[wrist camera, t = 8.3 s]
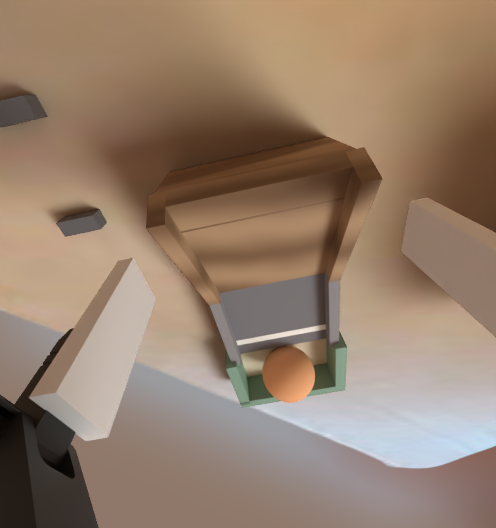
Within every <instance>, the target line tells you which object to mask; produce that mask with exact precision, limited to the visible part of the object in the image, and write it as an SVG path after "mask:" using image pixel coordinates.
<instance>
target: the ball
mask: <svg viewBox="0 0 496 528" xmlns="http://www.w3.org/2000/svg"><path fill="white" fill-rule="evenodd" d="M262 375H263V381H264V384H265V386H266V388H267V390H268V391H269V392H270V393H271V395H272V396H274V397H275V398H276V399H278V400H280V401H283V402H288V403H293V402H298V401H300V400H302V399H304V398H305V397H306V396H307V395H308V394H309V393H310V391H311V390H312V388H313V385H314V381H315V371H314V367H313V364H312V362H311V360H310V358H309V357H308V356H307V355H306V354H305V353H304V352H303V351H302V350H300V349H298V348H296V347H292V346H282V347H278V348H276V349H274V350H273V351H272V352H271V353H270V354H269V355H268V356H267V357H266V359H265V361H264V364H263V369H262Z"/></svg>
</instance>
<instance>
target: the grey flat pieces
mask: <svg viewBox="0 0 496 528" xmlns="http://www.w3.org/2000/svg"><path fill="white" fill-rule="evenodd" d="M44 117H48V116H47V115H46V113H45V111H44V109H43V107H42V106H41V104H40V102H39V100H38V98H37V97H36V95H22V96H17V97H13V98H9V99H5V100H1V101H0V127H6V126H10V125H15V124H19V123H23V122H27V121H31V120H35V119H39V118H44ZM106 223H107V222H106V220H105V218H104V217H103V215H102V213H101V211H100V209H99V210H94V211H89V212H85V213H80V214H76V215H71V216H67V217H64V218H62V219H61V220H60V221H58V222H57V223H56V224H57V225H58V227H59V228H60V230H61V231H62V233H63V234H64V236H65V237H66V236H71V235H76V234H80V233H85V232H90V231H94V230H99V229H101V228H102V227H103V226H104V225H105V224H106Z"/></svg>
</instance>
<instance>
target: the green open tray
mask: <svg viewBox="0 0 496 528" xmlns="http://www.w3.org/2000/svg"><path fill="white" fill-rule="evenodd" d="M287 346H292V347H296V348H298V349H300V350H302V351H303V352H304V353H305V354H306V355H307V356H308V357H309V358H310V360H311V362H312V364H313V367H314V371H315V381H314V385H313V388H312V390H311V391H310V393H309V394H308V395H307V396H313V395H319V394H325V393H331V392H337V391H343V390H345V382H346V360H347V346H346V344H345V342H344V340H343V338H342V335H341V333H340V331H339V343H335V344H333V346H334V347H332V348H330V347H329V344H328V342H327V339H320V340H315V341H309V342H304V343H298V344H293V345H287ZM276 348H278V347H276ZM276 348H271V349H265V350H260V351H254V352H249V353H243V354H241V364H237V361H235V362H231V360H230V358H229V355H228V353H227V350H226V370H227V373H228V375H229V378H230V380H231V382H232V385H233V387H234V390H235V392H236V394H237V397H238V399H239V402H240V404H241V406H242V407H249V406H255V405H260V404H266V403H272V402H278V401H280V400H278V399H276V398H275V397H274V396H272V395H271V393H270V392H269V391H268V390H267V388H266V386H265V384H264V381H263V375H262V369H263V364H264V361H265V359H266V357H267V356H268V355H269V354H270V353H271V352H272V351H273V350H274V349H276ZM307 396H306V397H307Z"/></svg>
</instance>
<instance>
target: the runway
mask: <svg viewBox="0 0 496 528" xmlns="http://www.w3.org/2000/svg"><path fill="white" fill-rule="evenodd" d="M220 298H221V304H220V303H218V304H213V305H209V306H210V309H211V311H212V314H213V316H214V319H215V321H216V324H217V327H218V329H219V332H220V334H221V337H222V340H223V342H224V345H225V347H226V350H227V353H228V355H229V358H230V360H231V362H235V361H237V364H241V354H243V353H249V352H254V351H260V350H265V349H271V348H276V347H282V346H287V345H293V344H298V343H304V342H309V341H315V340H320V339H327V342H328V344H329V347H330V348H332V347H334V346H333V344H335V343H339V310H340V280H338V281H332V282H329V277H328V275H327V273H326V271H325V272H324V273H321V274H316V275H311V276H306V277H301V278H295V279H290V280H285V281H280V282H275V283H270V284H265V285H260V286H254V287H249V288H244V289H239V290H234V291H229V292H224V293H220Z"/></svg>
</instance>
